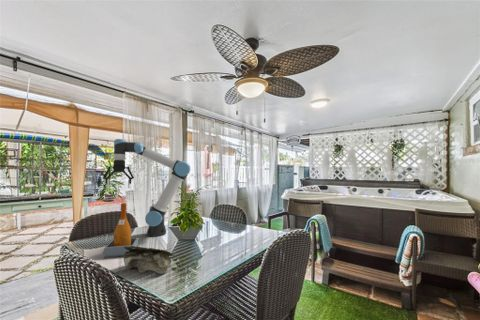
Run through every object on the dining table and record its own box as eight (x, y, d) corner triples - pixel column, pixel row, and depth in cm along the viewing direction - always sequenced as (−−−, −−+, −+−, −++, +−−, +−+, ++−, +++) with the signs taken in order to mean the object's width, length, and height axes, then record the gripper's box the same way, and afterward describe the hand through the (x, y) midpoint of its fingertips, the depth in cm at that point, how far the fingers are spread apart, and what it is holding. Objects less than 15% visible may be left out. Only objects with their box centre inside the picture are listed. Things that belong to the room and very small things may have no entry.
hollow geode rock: (123, 275, 116) (107, 262, 106) (135, 252, 125) (121, 239, 116) (168, 281, 108) (155, 268, 99) (178, 256, 118) (167, 242, 108)
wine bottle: (109, 251, 134) (111, 203, 136) (124, 246, 143) (126, 201, 144) (119, 254, 130) (121, 204, 131) (134, 249, 138) (135, 202, 140)
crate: (138, 246, 146) (138, 237, 146) (133, 255, 131) (133, 245, 131) (112, 248, 142) (112, 239, 142) (103, 258, 126) (104, 247, 127)
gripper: (138, 160, 167) (137, 187, 166) (101, 159, 159) (100, 188, 158) (137, 160, 160) (136, 188, 159) (98, 159, 152) (97, 189, 151)
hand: (118, 188), depth 158 cm, fingers open, 13 cm apart
